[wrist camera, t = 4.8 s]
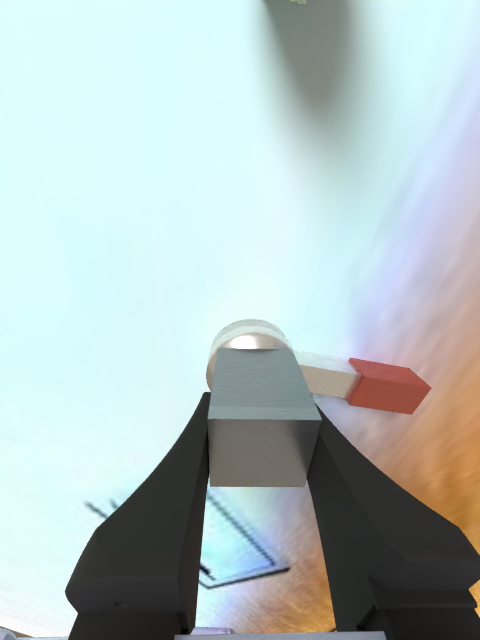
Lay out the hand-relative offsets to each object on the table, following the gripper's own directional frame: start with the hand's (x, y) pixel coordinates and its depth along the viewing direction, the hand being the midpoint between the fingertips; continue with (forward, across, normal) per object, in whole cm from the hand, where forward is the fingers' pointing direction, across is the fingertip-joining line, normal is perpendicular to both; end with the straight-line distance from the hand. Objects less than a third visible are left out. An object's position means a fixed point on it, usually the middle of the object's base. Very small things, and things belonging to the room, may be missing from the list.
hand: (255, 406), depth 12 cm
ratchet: (+5, -5, +1) cm, 7 cm away
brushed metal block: (+2, 0, 0) cm, 2 cm away
